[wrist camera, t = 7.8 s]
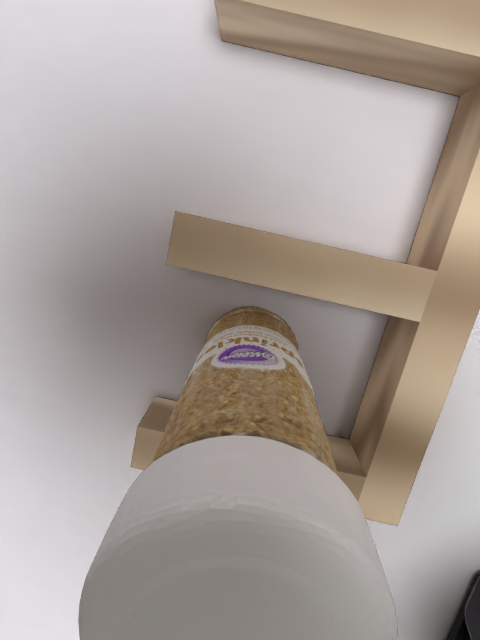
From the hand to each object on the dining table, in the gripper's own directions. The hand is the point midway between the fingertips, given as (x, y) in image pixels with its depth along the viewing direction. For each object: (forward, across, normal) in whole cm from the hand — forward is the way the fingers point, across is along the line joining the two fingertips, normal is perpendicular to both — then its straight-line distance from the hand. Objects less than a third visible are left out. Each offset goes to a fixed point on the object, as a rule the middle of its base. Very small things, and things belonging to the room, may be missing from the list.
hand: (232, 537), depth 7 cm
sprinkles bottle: (+12, 0, 0) cm, 12 cm away
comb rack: (+12, -2, -4) cm, 13 cm away
